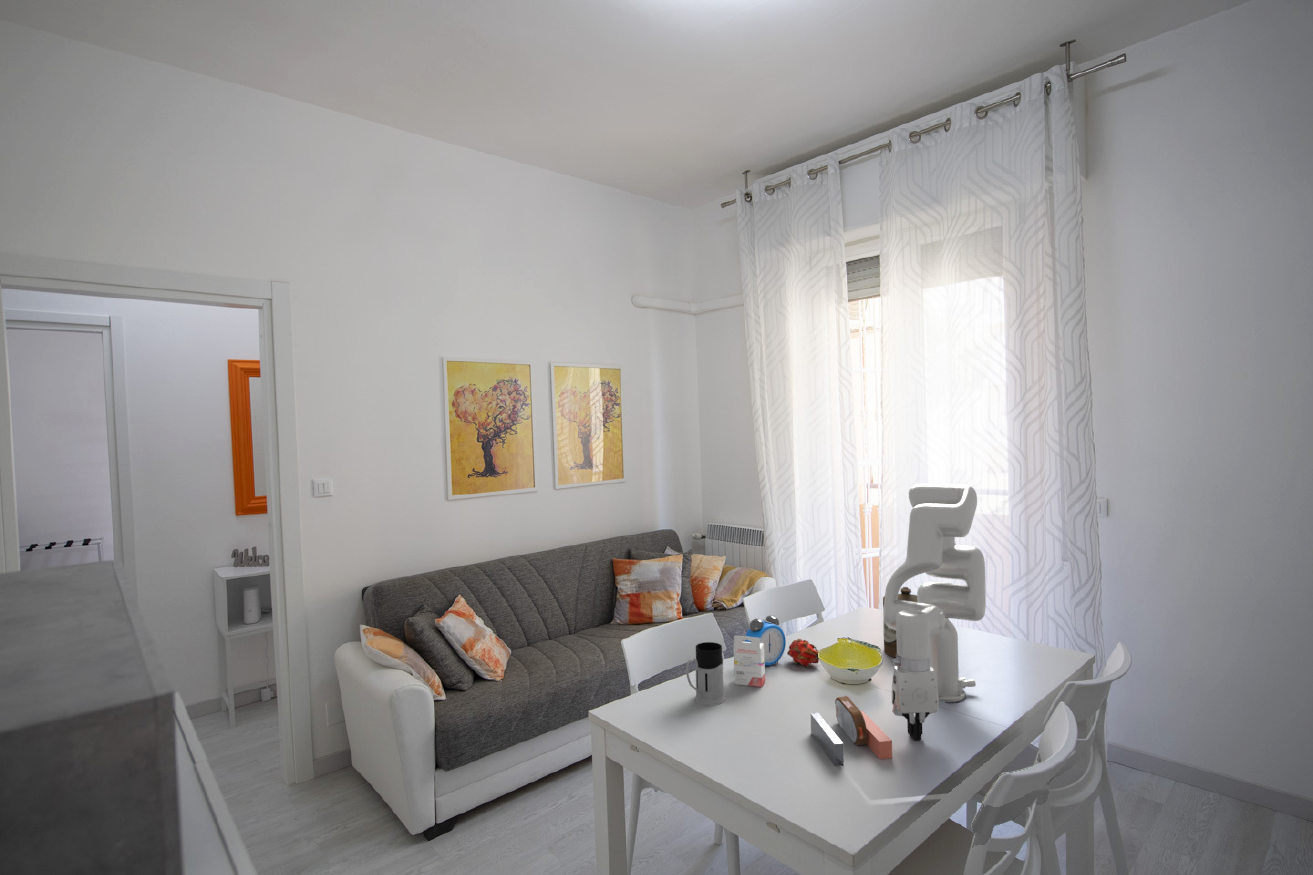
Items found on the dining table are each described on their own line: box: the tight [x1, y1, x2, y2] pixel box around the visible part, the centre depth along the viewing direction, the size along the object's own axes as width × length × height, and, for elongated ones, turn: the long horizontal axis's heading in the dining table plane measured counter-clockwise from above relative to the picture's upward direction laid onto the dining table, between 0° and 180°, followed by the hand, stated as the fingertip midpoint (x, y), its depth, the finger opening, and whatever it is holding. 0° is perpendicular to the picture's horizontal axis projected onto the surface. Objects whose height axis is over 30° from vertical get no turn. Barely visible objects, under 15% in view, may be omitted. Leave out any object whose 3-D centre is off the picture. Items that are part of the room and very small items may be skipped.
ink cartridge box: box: [732, 634, 766, 688], centre depth 197 cm, size 9×5×15 cm, turn 68°
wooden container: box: [882, 586, 918, 659], centre depth 219 cm, size 15×15×22 cm
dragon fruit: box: [786, 638, 820, 668], centre depth 211 cm, size 8×8×12 cm
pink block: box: [860, 710, 893, 760], centre depth 157 cm, size 3×16×4 cm, turn 6°
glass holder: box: [685, 641, 726, 706], centre depth 184 cm, size 9×14×15 cm, turn 137°
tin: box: [834, 695, 868, 746], centre depth 161 cm, size 15×3×8 cm, turn 5°
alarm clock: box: [743, 615, 787, 667], centre depth 212 cm, size 13×6×15 cm, turn 122°
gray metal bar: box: [810, 712, 845, 767], centre depth 156 cm, size 2×16×5 cm, turn 6°
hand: (915, 737), depth 158 cm, fingers closed
